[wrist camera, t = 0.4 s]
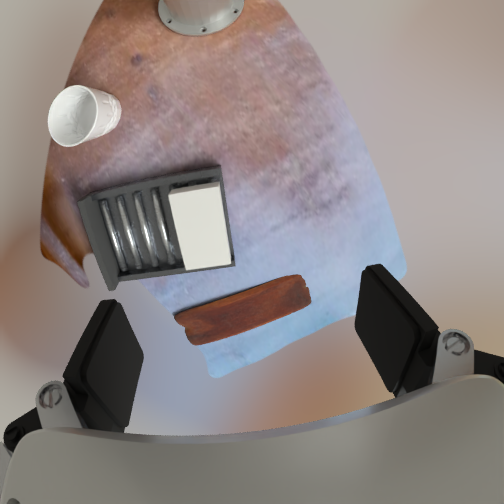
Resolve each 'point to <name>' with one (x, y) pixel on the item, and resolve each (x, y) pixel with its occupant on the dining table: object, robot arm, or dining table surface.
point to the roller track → (142, 226)
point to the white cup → (82, 115)
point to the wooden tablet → (244, 310)
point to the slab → (200, 225)
